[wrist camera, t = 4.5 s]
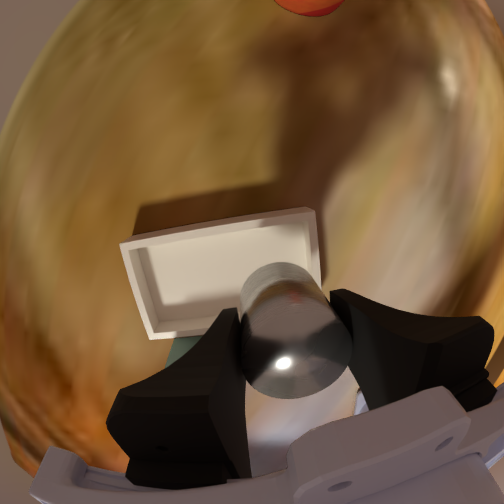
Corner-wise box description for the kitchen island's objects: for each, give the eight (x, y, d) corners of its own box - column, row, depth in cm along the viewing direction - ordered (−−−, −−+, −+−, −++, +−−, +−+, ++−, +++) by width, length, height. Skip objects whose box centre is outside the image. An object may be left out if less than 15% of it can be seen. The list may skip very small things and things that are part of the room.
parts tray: (306, 206, 18) (315, 211, 16) (314, 301, 20) (322, 315, 18) (131, 235, 18) (119, 243, 16) (157, 324, 20) (149, 339, 18)
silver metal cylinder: (314, 255, 13) (352, 299, 8) (319, 324, 14) (350, 385, 10) (232, 269, 13) (230, 324, 8) (247, 338, 14) (252, 406, 10)
